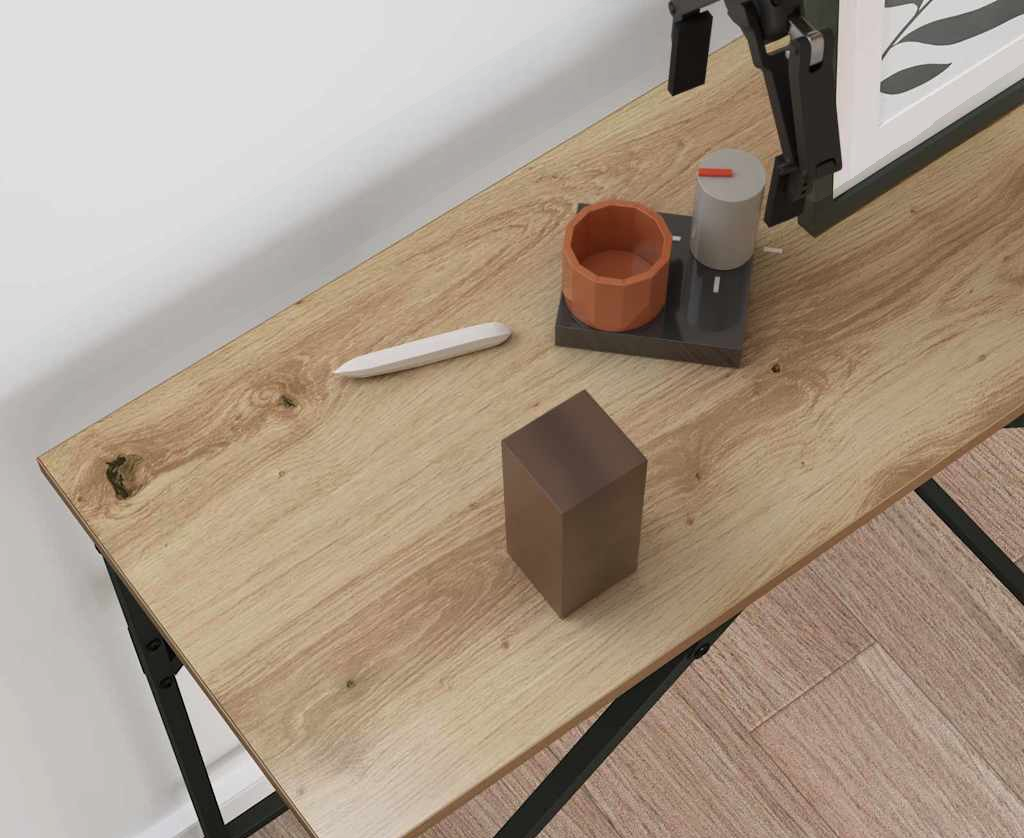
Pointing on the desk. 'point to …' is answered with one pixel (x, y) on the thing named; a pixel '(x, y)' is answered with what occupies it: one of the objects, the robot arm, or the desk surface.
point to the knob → (727, 208)
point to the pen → (426, 350)
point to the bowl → (616, 265)
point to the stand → (573, 502)
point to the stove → (678, 311)
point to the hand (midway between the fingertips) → (733, 150)
